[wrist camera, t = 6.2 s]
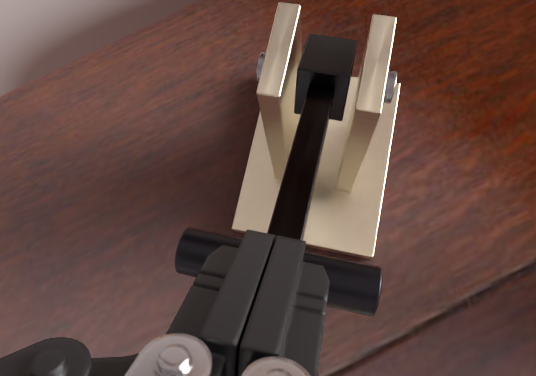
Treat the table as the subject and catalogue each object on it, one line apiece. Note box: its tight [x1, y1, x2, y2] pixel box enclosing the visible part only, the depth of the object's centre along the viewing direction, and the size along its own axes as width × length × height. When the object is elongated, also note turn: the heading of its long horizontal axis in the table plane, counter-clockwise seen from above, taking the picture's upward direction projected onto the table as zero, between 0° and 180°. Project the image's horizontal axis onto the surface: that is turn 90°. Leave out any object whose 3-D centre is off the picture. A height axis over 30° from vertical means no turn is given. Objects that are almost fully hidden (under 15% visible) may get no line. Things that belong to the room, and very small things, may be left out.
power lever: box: [175, 34, 382, 316], centre depth 17 cm, size 12×6×2 cm, turn 167°
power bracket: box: [232, 2, 400, 260], centre depth 24 cm, size 12×9×13 cm
